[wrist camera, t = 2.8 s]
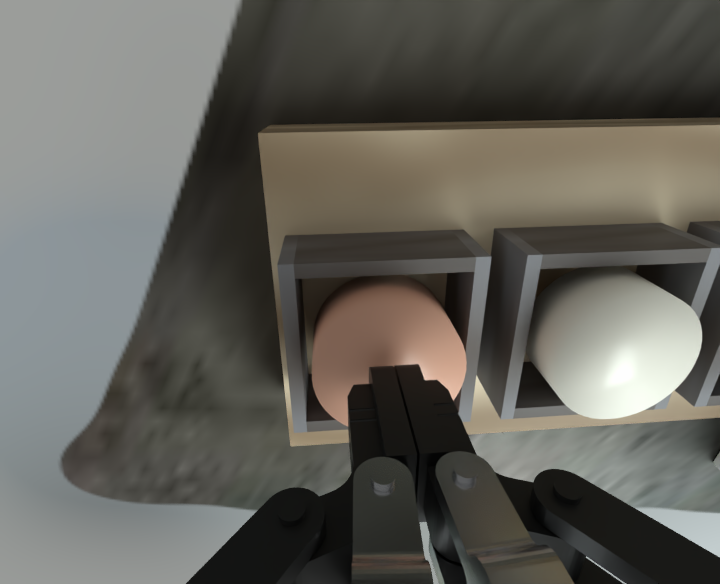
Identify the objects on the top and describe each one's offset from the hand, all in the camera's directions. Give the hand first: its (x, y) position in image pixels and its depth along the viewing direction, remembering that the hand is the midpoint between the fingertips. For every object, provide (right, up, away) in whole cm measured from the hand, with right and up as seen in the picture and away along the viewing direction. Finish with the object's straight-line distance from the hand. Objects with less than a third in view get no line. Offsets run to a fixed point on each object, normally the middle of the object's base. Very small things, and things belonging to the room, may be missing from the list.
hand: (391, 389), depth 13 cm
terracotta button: (0, +1, +3) cm, 3 cm away
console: (+7, +4, +9) cm, 12 cm away
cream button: (+8, +2, +3) cm, 9 cm away
